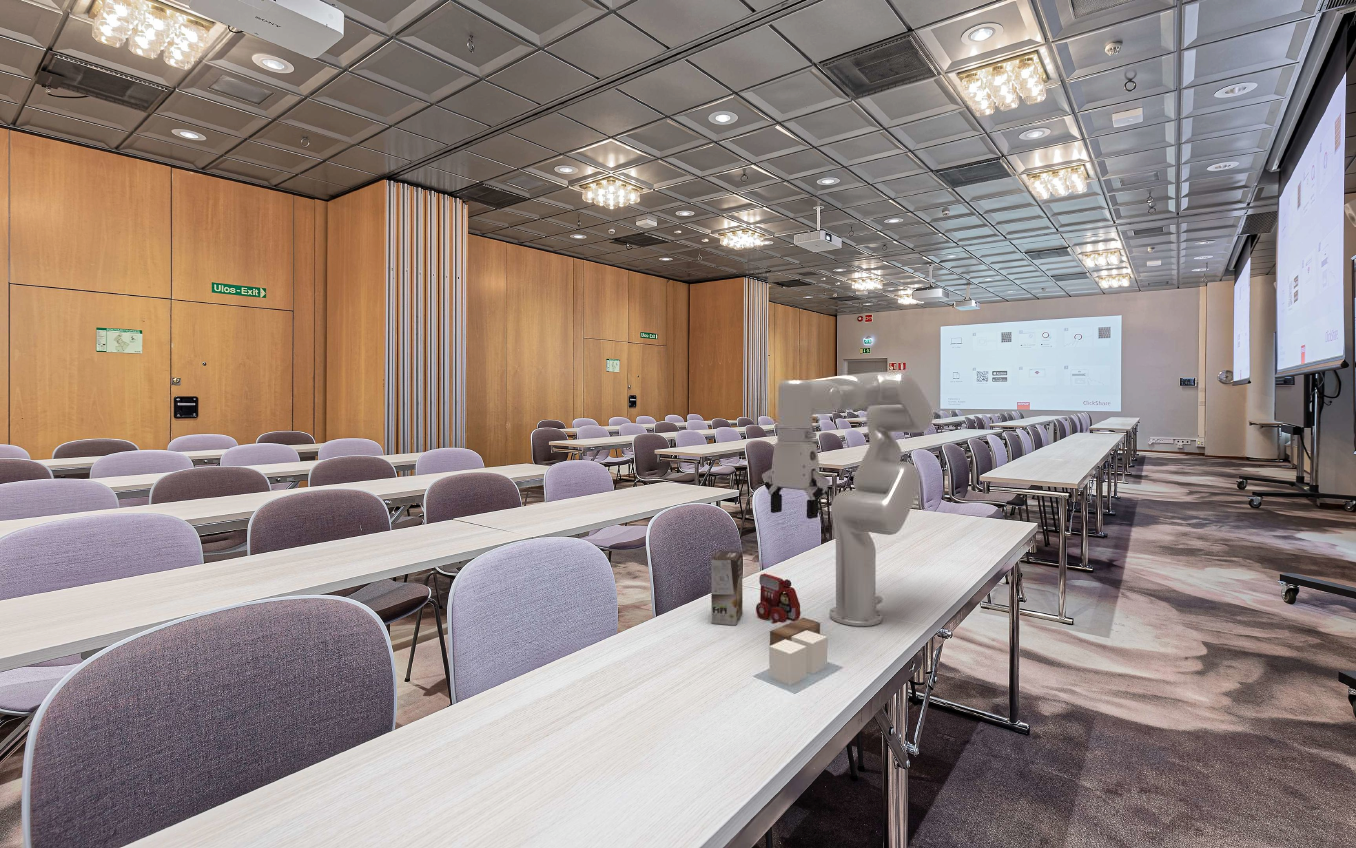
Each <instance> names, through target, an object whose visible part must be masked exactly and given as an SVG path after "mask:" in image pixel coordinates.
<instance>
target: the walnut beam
mask: <svg viewBox="0 0 1356 848" xmlns="http://www.w3.org/2000/svg"><path fill="white" fill-rule="evenodd" d="M806 630H807V631H810V632H814V633H817V634H820V635H821V622H820V621H816V620H813V619H810V618H807V617H804V616H803V617H801V618H799V619H797V620H792V621H791V622H789V623H785V624H784V625H781V626H779V627H776V628H774V629H771V630H769V646H771V645H773V644H776V643H778V642H780V641H783V640H785V639H786V640H789V641H792V636H794V635H797V634H799V633H801V632H803V631H806Z"/></svg>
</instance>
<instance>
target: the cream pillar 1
mask: <svg viewBox="0 0 1356 848" xmlns="http://www.w3.org/2000/svg"><path fill="white" fill-rule="evenodd" d="M768 649H769V650H768V651H769V654H768V656H769V663H768V665H769V668H768V669H769V677H771V678H773V679H776V680H778V681H780V682H783V683H785V684H788V685H790V686H791V685H793V684H795V683H797V682H798V681H800V680H802V679H804V678H806V646H803V645H801V644H798V643H795V642H792V641H789V640H786V639H785V640H783V641H780V642H778V643H776V644H773V645H771V646H770V645H768Z"/></svg>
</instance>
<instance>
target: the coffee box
mask: <svg viewBox="0 0 1356 848" xmlns="http://www.w3.org/2000/svg"><path fill="white" fill-rule="evenodd" d="M710 562H711V563H710V564H711V567H710V569H711V571H710V572H711V579H710V581H711V583H710V584H711V587H710V588H711V590H710V591H711V595H710V596H711V600H710V601H711V624H714V625H715V624H716V625H727V626H737V624H738V622H739V620H740V619H741V617H742V615H743V611H744V610H743V609H744V608H743V598H744V597H743V551H735V550H718V551H717V552H716V553H715V554H714V555H713V556H712V557H711V558H710Z"/></svg>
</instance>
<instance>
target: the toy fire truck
mask: <svg viewBox="0 0 1356 848" xmlns="http://www.w3.org/2000/svg"><path fill="white" fill-rule="evenodd" d="M758 579H759V585H760V597H759V598H760V599H759V602H758V603H757V604H756V607H755V613H756V615H757V617H758V618H760V619H761V618H762V620H766V619H768V618H771V621H772V622H773V623H774V624H776V623H784V622H786V621H787V619H790V620H792V621H796V620H798V619H801V618H800V617H801V613H802V611H801V605H800V601H799V597H798V595H797V591H796V589H795V588H794V587H792V581H791V580H790V579H783V578H781V577H778V576H775V575H771V574H768V573H762V574H759V578H758Z"/></svg>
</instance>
